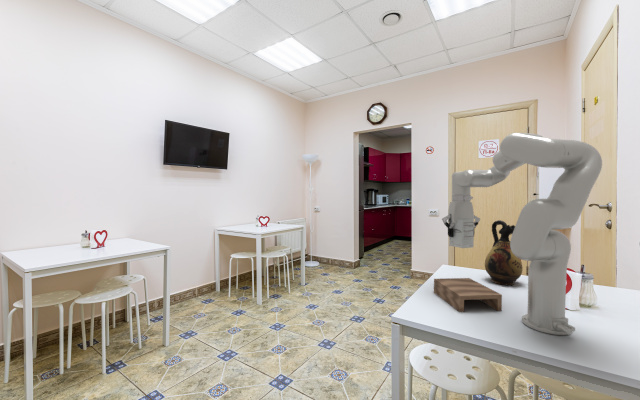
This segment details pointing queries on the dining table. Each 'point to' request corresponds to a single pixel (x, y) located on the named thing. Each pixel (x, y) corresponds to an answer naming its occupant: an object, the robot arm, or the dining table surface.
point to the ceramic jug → (503, 257)
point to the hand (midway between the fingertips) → (461, 236)
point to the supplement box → (462, 234)
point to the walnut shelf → (466, 292)
